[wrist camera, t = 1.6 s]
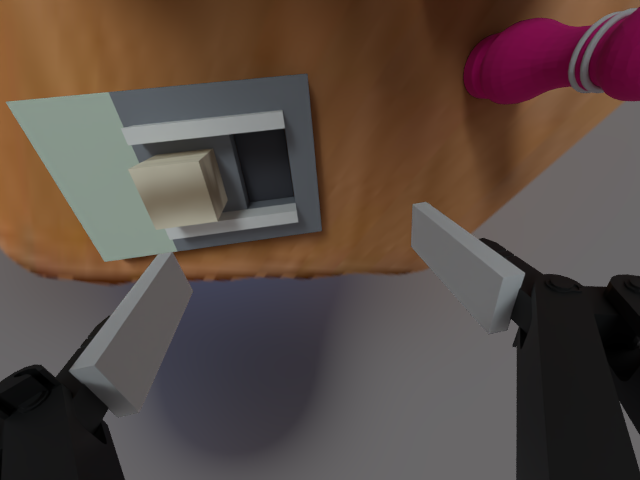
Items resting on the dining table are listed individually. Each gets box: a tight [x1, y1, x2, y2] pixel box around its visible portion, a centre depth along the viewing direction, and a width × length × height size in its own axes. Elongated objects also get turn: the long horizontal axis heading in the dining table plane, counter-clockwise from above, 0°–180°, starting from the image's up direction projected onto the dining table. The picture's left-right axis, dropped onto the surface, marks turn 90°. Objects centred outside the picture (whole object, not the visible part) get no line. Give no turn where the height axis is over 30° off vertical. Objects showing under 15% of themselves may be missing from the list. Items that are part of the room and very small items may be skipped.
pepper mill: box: [463, 7, 640, 104], centre depth 22 cm, size 7×7×20 cm
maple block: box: [128, 148, 228, 230], centre depth 27 cm, size 6×6×6 cm
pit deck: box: [6, 74, 322, 262], centre depth 29 cm, size 18×28×5 cm, turn 95°
